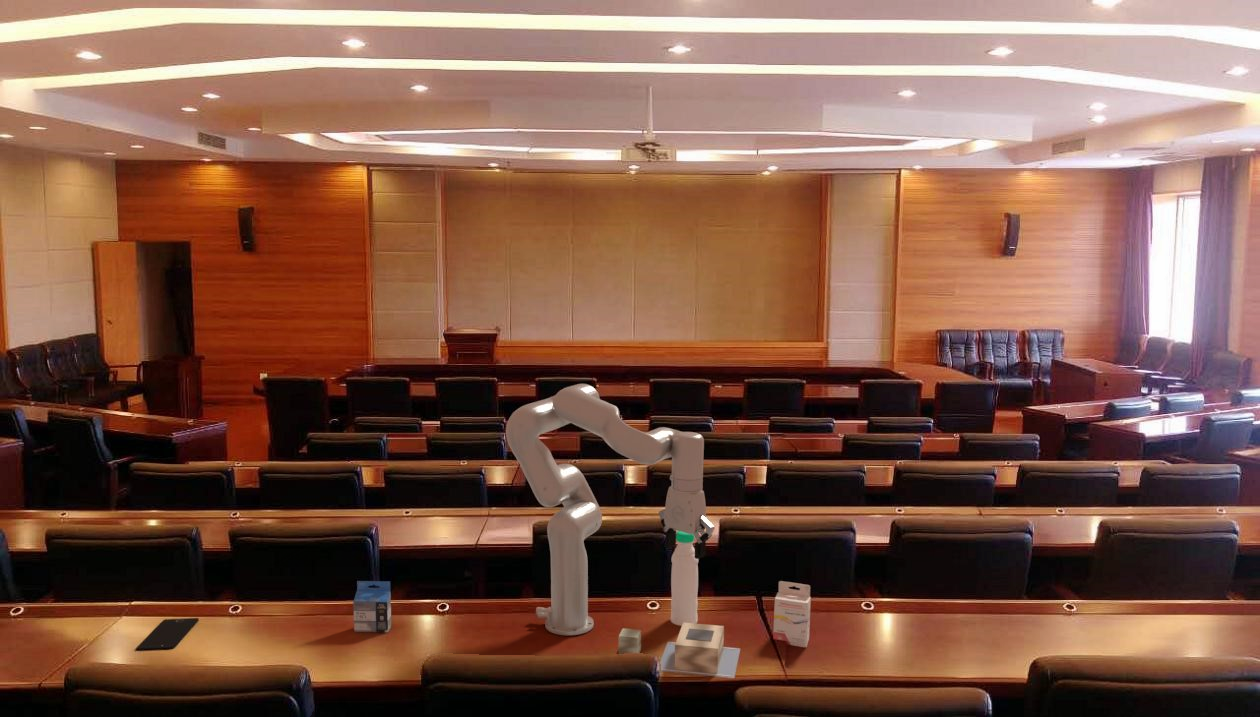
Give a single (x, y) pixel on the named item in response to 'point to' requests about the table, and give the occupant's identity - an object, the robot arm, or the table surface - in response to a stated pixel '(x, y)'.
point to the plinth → (699, 647)
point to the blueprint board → (725, 670)
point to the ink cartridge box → (792, 614)
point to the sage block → (629, 641)
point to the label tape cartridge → (372, 607)
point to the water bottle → (684, 581)
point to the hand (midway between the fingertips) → (684, 552)
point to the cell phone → (167, 634)
